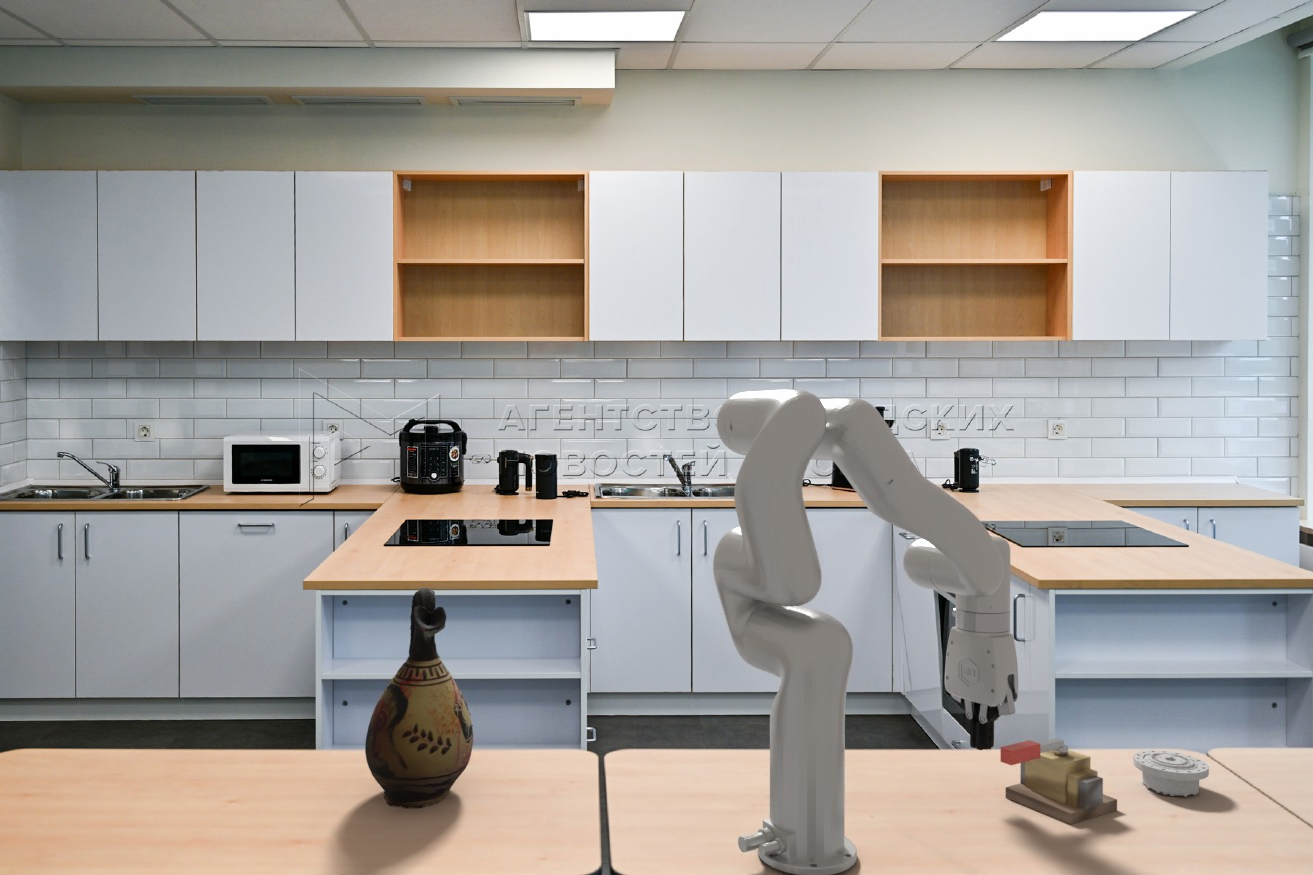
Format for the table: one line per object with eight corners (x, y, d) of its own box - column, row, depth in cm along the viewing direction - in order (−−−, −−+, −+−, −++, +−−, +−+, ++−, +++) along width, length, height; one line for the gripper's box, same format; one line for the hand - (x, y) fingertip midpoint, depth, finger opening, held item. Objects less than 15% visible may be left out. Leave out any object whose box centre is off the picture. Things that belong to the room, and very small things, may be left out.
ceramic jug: (483, 806, 138) (482, 597, 138) (370, 823, 132) (370, 604, 132) (461, 767, 154) (461, 579, 153) (360, 780, 148) (359, 585, 148)
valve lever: (1059, 749, 141) (1059, 732, 141) (1071, 753, 139) (1071, 736, 139) (999, 764, 134) (999, 746, 134) (1011, 769, 133) (1011, 751, 133)
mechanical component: (1201, 775, 138) (1125, 760, 145) (1200, 806, 138) (1125, 789, 145) (1214, 757, 146) (1142, 743, 152) (1214, 786, 146) (1142, 771, 152)
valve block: (1070, 824, 132) (1071, 772, 132) (1005, 797, 142) (1005, 749, 142) (1117, 809, 137) (1117, 759, 137) (1050, 784, 147) (1051, 738, 147)
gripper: (925, 615, 145) (925, 737, 146) (1007, 633, 132) (1006, 767, 133) (960, 610, 149) (959, 729, 149) (1043, 628, 136) (1042, 757, 137)
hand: (981, 746), depth 141 cm, fingers closed
